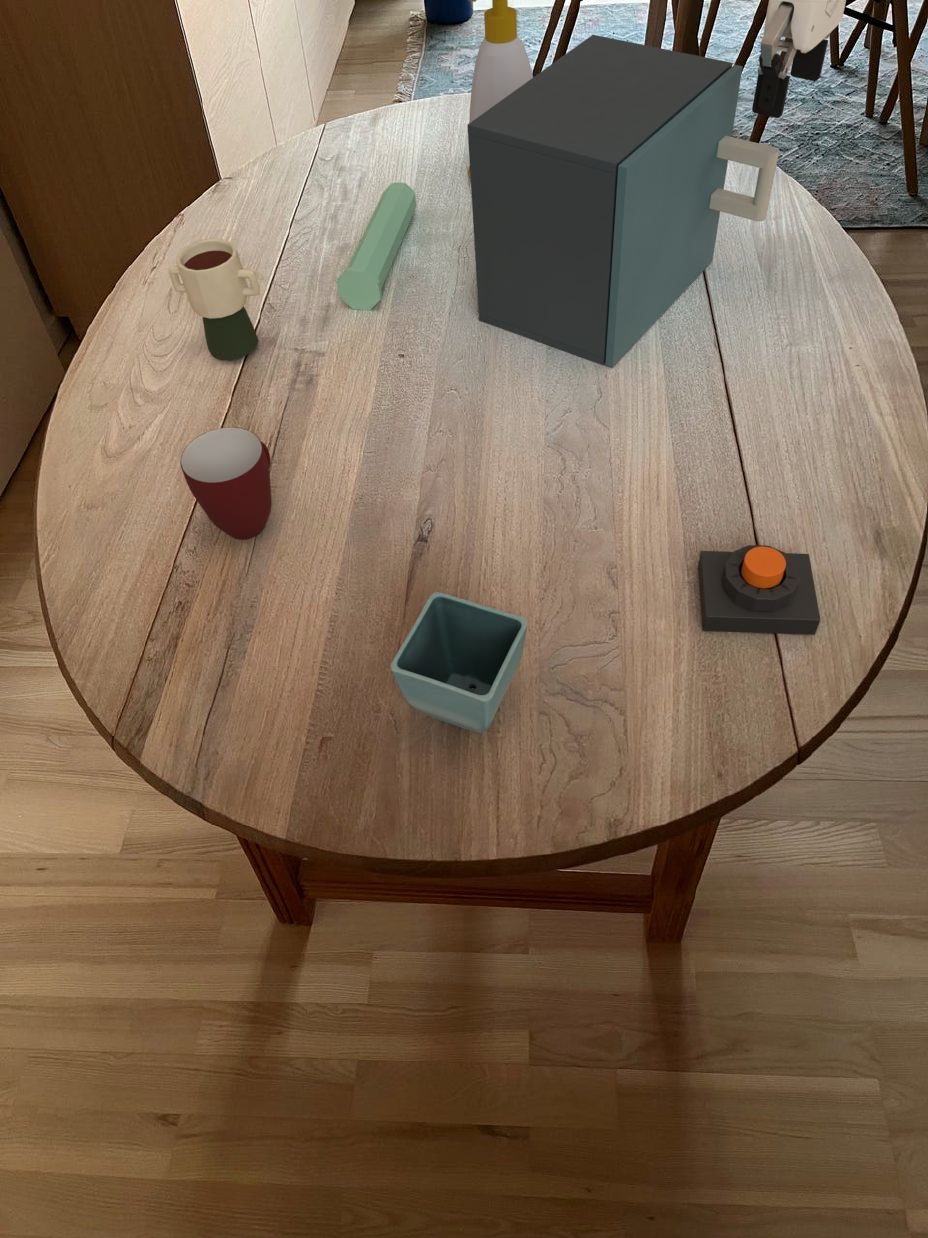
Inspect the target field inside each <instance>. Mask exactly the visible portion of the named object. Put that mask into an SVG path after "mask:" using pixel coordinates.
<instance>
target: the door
mask: <svg viewBox="0 0 928 1238" xmlns="http://www.w3.org/2000/svg"><path fill="white" fill-rule="evenodd" d="M742 74H743V65H739V64H734V65H732V68H730V69H729V70H728V71H727V72H726V73H725V74H723V75H722V76H721V77H720V78H719V79H718V80H717V81H715V82H714V83H713V84H712V85H711V86H710V87H708V88H707V89H706V90H705V91H704V92H703V93H702V94H700V95H699V96H698V97H697V98H696V99H695V100H694V101H692V102H691V103H690V104H689V105H688V106H687V107H685V108H684V109H683V110H682V111H681V112H680V113H679V114H677V115H676V116H675V117H674V118H673V119H672V120H671V121H669V122H668V123H667V124H666V125H665V126H664V127H662V128H661V129H660V130H659V131H658V132H657V133H656V134H654V135H653V136H652V137H651V138H650V139H649V140H647V141H646V142H645V143H644V144H643V145H642V146H641V147H639V148H638V149H637V150H636V151H635V152H634V153H633V154H631V155H630V156H629V157H628V158H627V159H626V160H624V161H623V162H622V163H621V164H620V165H619V166H618V178H617V193H616V209H615V224H614V240H613V255H612V271H611V286H610V302H609V317H608V333H607V348H606V363H605V364H604V365H605V366H607V367H610V368H614V367H615V366H616V365H617V363H618V362H619V361H621V360H622V358H623V357H624V356H625V355H626V354H627V353H628V352H629V351H630V350H631V349H632V348H633V346H634V345H635V344H637V342H638V341H639V340H640V339H641V338H642V337H643V336H644V335H645V334H646V333H647V332H648V330H650V328H651V327H652V326H653V325H654V324H656V322H658V320H659V319H660V318H661V317H662V316H663V314H664V313H665V312H666V311H667V310H669V308H670V307H671V306H672V305H673V304H674V303H675V302H676V301H677V299H679V297H680V296H682V294H684V292H685V291H686V290H687V289H688V288H689V287H690V286H691V285H692V284H693V283H694V282H695V281H696V279H697V278H698V277H699V276H700V275H701V274H703V272H704V271H705V270H707V269H706V268H708V267H709V266H710V265H711V264H712V262H713V261H714V253H715V248H716V243H717V241H716V240H717V235H718V228H719V221H720V216H721V213H725V214H729V215H732V216H736V217H740V218H743V219H746V220H751V221H754V222H763V221H765V220H766V219H767V217H768V216H767V215H768V210H769V206H770V205H769V204H770V200H771V195H772V190H773V185H774V179H775V175H776V171H777V170H776V169H777V165H778V160H779V154H780V149H779V148H777V147H776V146H771V145H767V144H763V143H760V142H759V143H758V142H754V141H750V140H746V139H742V138H738V137H733V132H734V126H735V119H736V114H737V107H738V100H739V93H740V86H741V82H742V81H741V80H742ZM729 161H730V162H733V163H739V164H742V165H747V166H751V167H754V168H759V169H758V173H757V180H756V183H755V184H756V185H755V191H754V196H750V195H747V194H744V193H743V194H742V193H739V192H735V191H731V190H727V189H725V182H726V176H727V169H728V164H729Z"/></svg>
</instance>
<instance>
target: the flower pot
mask: <svg viewBox="0 0 928 1238" xmlns="http://www.w3.org/2000/svg"><path fill="white" fill-rule="evenodd" d="M528 623H529V622H528V619H527V618H526V617H522V616H521V615H517V614H513V613H510V612H506V611H503V610H500V609H496V608H493V607H490V606H486V605H483V604H480V603H478V602H477V603H476V602H473V601H469V600H467V599H464V598H461V597H457V596H453V595H451V594H448V593H445V592H439V591H434V592H433V593H431V595H430V596H429V597H428V599H427V601H426V603H425V604H424V606H423V607H422V610H421V612H420V614H419V615H418V617H417V619H416V620H415V622H414V623H413V626H412V627H411V629H410V631H409V633H408V634H407V636H406V638H405V639H404V641H403V643H402V644H401V646H400V648H398V651H397V653H396V654H395V656H394V658H393V659H392V661H391V663H390V666H389V668H390V671H391V673H392V675H393V677H394V680H395V682H396V685H397V687H398V689H399V691H400V693H401V695H402V697H403V699H404V700H405V701H406V703H408V705H410V707H412V708H413V709H415V710H416V711H417V712H419V713H422V714H423V715H425V716H427V717H429V718H432V719H434V720H438V721H440V722H443V723H445V724H446V723H447V724H450V725H453V726H456V727H458V728H461V729H463V730H466V731H469V732H472V733H476V734H483V733H485V732H486V731H487V730H489V728H490V726H491V724H492V722H493V721H494V718H495V716H496V713H497V711H498V709H499V707H500V705H501V703H502V701H503V698H504V697H505V695H506V692H507V691H508V688H509V687H510V684H511V682H512V680H513V678H514V676H515V675H516V672H517V670H518V668H519V666H520V663H521V660H522V657H523V652H524V647H525V641H526V636H527V632H528V631H527V629H528ZM471 687H474V689H471Z"/></svg>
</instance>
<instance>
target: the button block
mask: <svg viewBox="0 0 928 1238" xmlns="http://www.w3.org/2000/svg"><path fill="white" fill-rule="evenodd" d="M755 547H770V548H773V549H775V550H777V551H779V552H780V553H781V554H782V555H783V556H784V558H785V561H786V567H785V570H784V573H783V576H782V580H781V581H780V583H779V584H778V585H776V586H774V587H772V588H767V589H761V588H756V587H754V586H752V585H750V584H748V583H747V582H746V581H745V580H744V578H743V576H742V573H741V570H742V566H743V562H744V558H745V555H746V553H747V552H748V551H749V550H751V549H753V548H755ZM697 572H698V574H697V575H698V585H699V586H698V587H699V597H700V598H699V599H700V612H701V623H702V631H703V632H724V633H750V634H751V633H753V634H776V635H777V634H780V635H781V634H782V635H807V636H808V635H809V636H810V635H811V636H815V635H816V633H817V630H818V628H819V625H820V622H821V615H820V614H821V613H820V608H819V603H818V597H817V592H816V587H815V580H814V574H813V569H812V564H811V558H810V554H809V553H799V552H798V553H796V552H795V553H793V552H785V551H782V550H780V549H778V548H775V547H772V546H771V545H764V544H763V545H761V544H760V545H758V544H749V545H746V546H743V547H741V548H739V549H736V550H733V551H718V550H717V551H715V550H700V553H699V558H698V563H697Z"/></svg>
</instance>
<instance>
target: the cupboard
mask: <svg viewBox="0 0 928 1238" xmlns="http://www.w3.org/2000/svg"><path fill="white" fill-rule="evenodd" d="M732 67H733V62H731V61H725V60H721V59H715V58H710V57H707V56H706V57H705V56H702V55H701V56H700V55H696V54H692V53H691V54H690V53H687V52H686V53H685V52H681V51H677V50H672V49H671V50H670V49H666V48H661V47H656V46H651V45H646V44H643V43H642V44H641V43H637V42H631V41H626V40H621V39H617V38H612V37H607V36H601V35H596V34H592V35H591V36H588V37H587V38H586V39H585V40H584V41H582V42H581V43H579V44H578V45H576V46H575V47H574V48H572V49H570V50H569V51H567V53H565V54H564V55H562V56H560V57H559V58H558V59H557V60H555V61H554V62H553V63H551V64H550V65H549V66H547V67H545V68H544V69H543V70H541V71H540V72H538V74H536V75H535V76H533V78H532V79H530V80H529V81H528V82H526V83H525V84H523V85H522V86H521V87H519V88H518V89H516V90H515V91H514V92H512V93H511V94H510V95H508V96H507V97H505V98H504V99H503V100H501V101H500V102H498V103H497V104H496V105H494V106H493V107H491V108H490V109H489V110H487V111H486V112H484V113H483V114H482V115H480V116H479V117H477V118H476V119H475V120H473V121H472V122H471V123H469V122H468V123H467V125H466V126H467V142H468V158H469V159H468V160H469V166H470V177H469V179H470V178H471V179H470V193H471V194H470V195H471V208H472V211H471V212H472V225H473V227H472V228H473V242H474V259H475V274H476V275H475V276H476V289H477V290H476V293H477V294H476V295H477V309H478V311H477V312H478V321H480V322H483V323H485V324H489V325H491V326H494V327H496V328H500V329H502V330H505V331H508V332H511V333H513V334H516V335H518V336H521V337H524V338H527V339H530V340H533V341H535V342H537V343H538V342H539V343H541V344H543V345H547V346H549V347H551V348H554V349H556V350H559V351H563V352H566V353H568V354H571V355H574V356H576V357H580V358H581V359H585V360H587V361H591V362H593V363H596V364H599V365H602V366H604V365H605V364H606V348H607V333H608V317H609V302H610V286H611V271H612V255H613V240H614V224H615V209H616V193H617V178H618V166H619V165H620V164H621V163H622V162H623V161H624V160H626V159H627V158H628V157H629V156H630V155H631V154H633V153H634V152H635V151H636V150H637V149H638V148H639V147H641V146H642V145H643V144H644V143H645V142H646V141H647V140H649V139H650V138H651V137H652V136H653V135H654V134H656V133H657V132H658V131H659V130H660V129H661V128H662V127H664V126H665V125H666V124H667V123H668V122H669V121H671V120H672V119H673V118H674V117H675V116H676V115H677V114H679V113H680V112H681V111H682V110H683V109H684V108H685V107H687V106H688V105H689V104H690V103H691V102H692V101H694V100H695V99H696V98H697V97H698V96H699V95H700V94H702V93H703V92H704V91H705V90H706V89H707V88H708V87H710V86H711V85H712V84H713V83H714V82H715V81H717V80H718V79H719V78H720V77H721V76H722V75H723V74H725V73H726V72H727V71H728V70H729V69H730V68H732Z"/></svg>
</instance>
